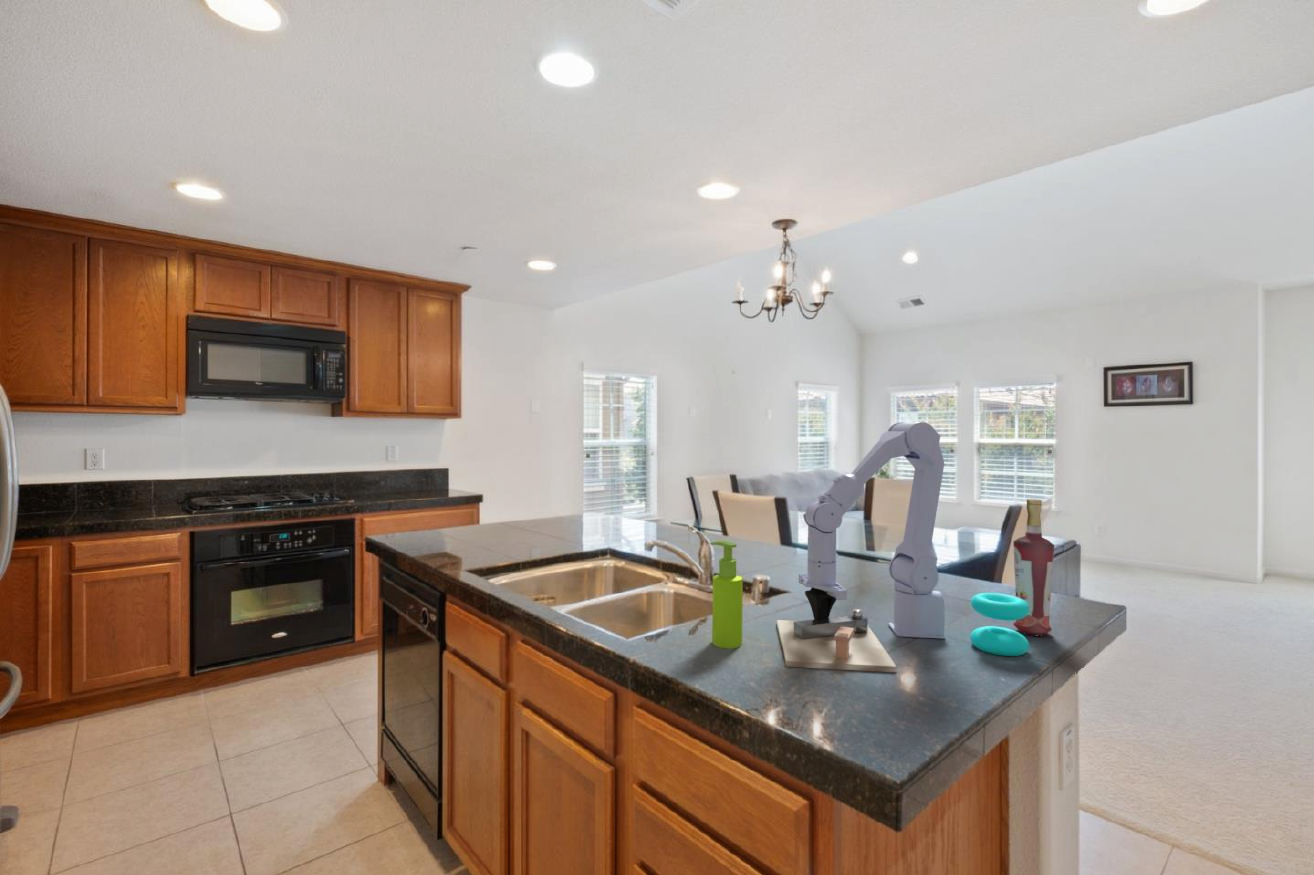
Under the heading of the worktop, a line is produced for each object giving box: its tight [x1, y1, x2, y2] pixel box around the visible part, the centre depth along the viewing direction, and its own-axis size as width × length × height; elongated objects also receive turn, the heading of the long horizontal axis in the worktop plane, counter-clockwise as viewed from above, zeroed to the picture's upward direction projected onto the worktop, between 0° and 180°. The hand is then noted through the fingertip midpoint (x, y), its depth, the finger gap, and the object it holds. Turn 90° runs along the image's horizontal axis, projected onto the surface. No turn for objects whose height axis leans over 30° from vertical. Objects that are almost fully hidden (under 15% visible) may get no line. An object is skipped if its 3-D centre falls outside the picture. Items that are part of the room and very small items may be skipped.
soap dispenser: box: [709, 540, 744, 649], centre depth 123 cm, size 6×7×20 cm
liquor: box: [1012, 498, 1055, 637], centre depth 130 cm, size 7×7×28 cm
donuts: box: [969, 592, 1030, 657], centre depth 120 cm, size 10×10×10 cm
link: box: [794, 608, 869, 639], centre depth 126 cm, size 16×4×4 cm, turn 108°
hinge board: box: [776, 619, 897, 673], centre depth 121 cm, size 19×24×1 cm
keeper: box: [834, 626, 854, 660], centre depth 115 cm, size 6×2×4 cm, turn 153°
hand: (821, 625), depth 128 cm, fingers closed
